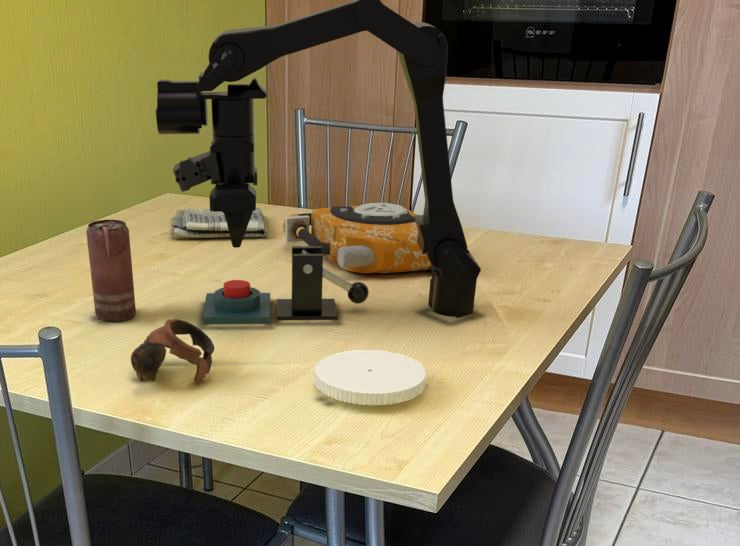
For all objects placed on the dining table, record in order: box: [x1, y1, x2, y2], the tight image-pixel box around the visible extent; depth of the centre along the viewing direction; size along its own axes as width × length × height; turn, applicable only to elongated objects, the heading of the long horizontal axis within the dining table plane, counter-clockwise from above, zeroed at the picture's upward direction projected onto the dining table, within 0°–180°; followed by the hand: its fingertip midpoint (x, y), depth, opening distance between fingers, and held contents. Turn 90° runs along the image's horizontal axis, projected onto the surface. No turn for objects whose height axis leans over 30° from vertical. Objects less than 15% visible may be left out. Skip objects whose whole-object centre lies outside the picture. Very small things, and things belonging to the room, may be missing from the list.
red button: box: [223, 279, 251, 298], centre depth 139 cm, size 4×4×2 cm
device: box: [281, 202, 438, 274], centre depth 163 cm, size 23×8×30 cm
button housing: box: [201, 286, 271, 325], centre depth 140 cm, size 10×11×4 cm
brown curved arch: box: [130, 318, 215, 384], centre depth 119 cm, size 12×10×8 cm
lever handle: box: [301, 250, 370, 304], centre depth 138 cm, size 12×3×3 cm
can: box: [85, 219, 137, 323], centre depth 137 cm, size 6×6×14 cm
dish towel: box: [170, 207, 269, 239], centre depth 183 cm, size 19×18×3 cm
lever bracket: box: [276, 245, 339, 321], centre depth 138 cm, size 9×8×10 cm
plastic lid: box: [313, 349, 427, 406], centre depth 117 cm, size 14×14×2 cm
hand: (236, 246), depth 135 cm, fingers closed
